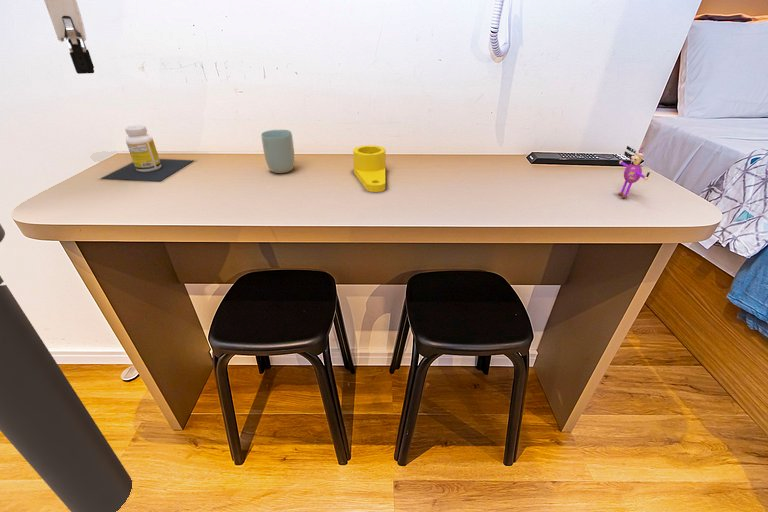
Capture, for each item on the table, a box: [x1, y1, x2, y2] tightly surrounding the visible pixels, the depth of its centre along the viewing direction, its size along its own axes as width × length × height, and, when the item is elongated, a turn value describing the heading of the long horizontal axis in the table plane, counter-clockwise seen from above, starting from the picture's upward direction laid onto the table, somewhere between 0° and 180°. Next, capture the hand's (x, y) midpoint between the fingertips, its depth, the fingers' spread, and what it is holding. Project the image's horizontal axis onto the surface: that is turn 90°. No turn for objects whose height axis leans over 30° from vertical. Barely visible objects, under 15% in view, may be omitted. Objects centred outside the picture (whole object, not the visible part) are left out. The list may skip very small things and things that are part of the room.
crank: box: [352, 144, 386, 193], centre depth 98 cm, size 18×8×6 cm, turn 9°
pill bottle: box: [124, 124, 161, 172], centre depth 102 cm, size 6×6×11 cm
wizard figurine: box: [617, 145, 651, 199], centre depth 87 cm, size 11×3×12 cm, turn 0°
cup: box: [260, 129, 296, 174], centre depth 101 cm, size 8×8×10 cm
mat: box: [100, 158, 194, 182], centre depth 105 cm, size 16×16×1 cm
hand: (86, 71), depth 87 cm, fingers open, 9 cm apart
